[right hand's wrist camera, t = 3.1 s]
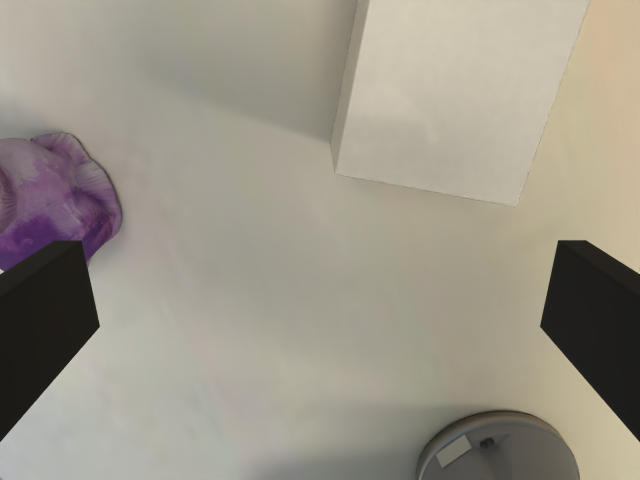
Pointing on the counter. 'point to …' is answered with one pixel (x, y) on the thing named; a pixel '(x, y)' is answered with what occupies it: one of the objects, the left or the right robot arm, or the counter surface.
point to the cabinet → (452, 92)
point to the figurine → (52, 197)
